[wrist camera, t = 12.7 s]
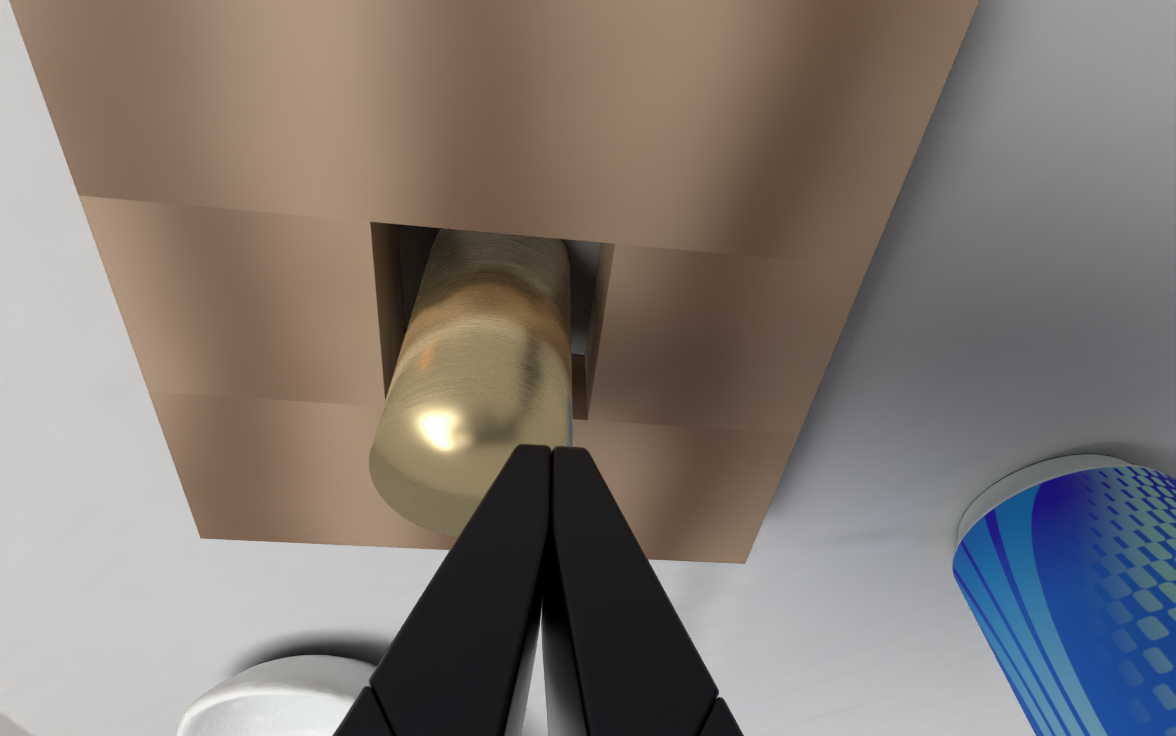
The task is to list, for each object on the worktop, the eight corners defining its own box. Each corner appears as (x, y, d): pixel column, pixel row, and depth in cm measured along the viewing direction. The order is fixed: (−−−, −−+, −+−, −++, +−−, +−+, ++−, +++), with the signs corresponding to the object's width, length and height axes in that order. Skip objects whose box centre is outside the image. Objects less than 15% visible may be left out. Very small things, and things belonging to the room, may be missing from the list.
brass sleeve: (576, 211, 19) (584, 405, 13) (563, 330, 21) (563, 542, 15) (428, 197, 19) (360, 389, 12) (431, 320, 21) (376, 533, 15)
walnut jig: (923, -46, 15) (988, -22, 13) (728, 497, 26) (745, 563, 24) (56, -164, 14) (-48, -160, 11) (234, 469, 25) (200, 538, 22)
